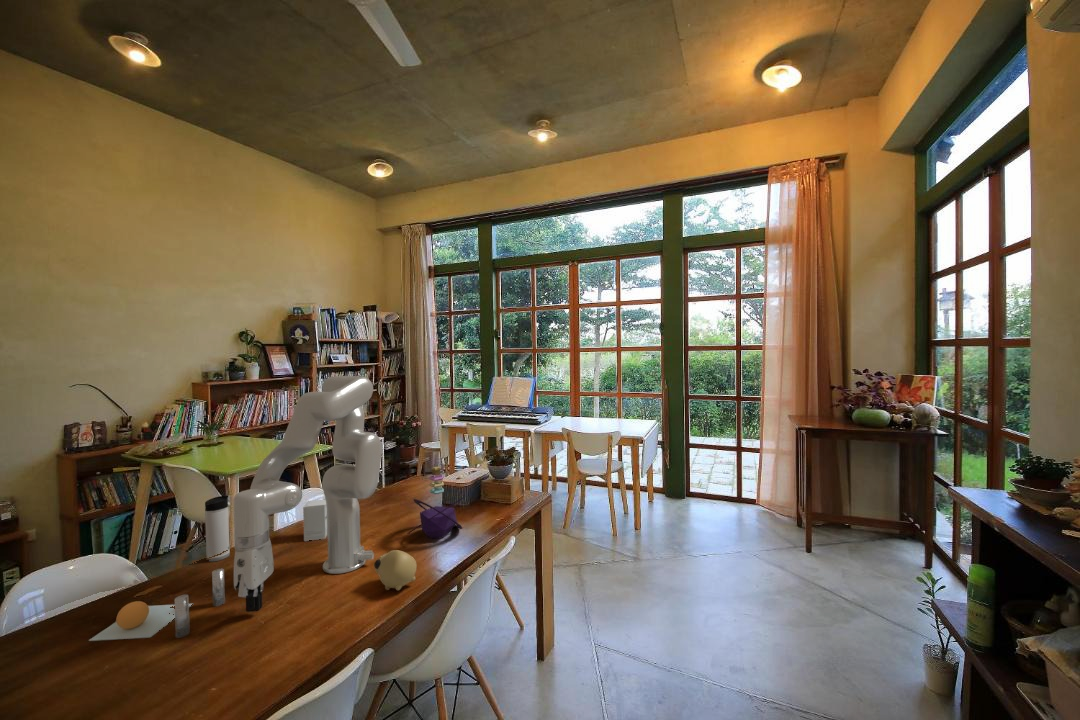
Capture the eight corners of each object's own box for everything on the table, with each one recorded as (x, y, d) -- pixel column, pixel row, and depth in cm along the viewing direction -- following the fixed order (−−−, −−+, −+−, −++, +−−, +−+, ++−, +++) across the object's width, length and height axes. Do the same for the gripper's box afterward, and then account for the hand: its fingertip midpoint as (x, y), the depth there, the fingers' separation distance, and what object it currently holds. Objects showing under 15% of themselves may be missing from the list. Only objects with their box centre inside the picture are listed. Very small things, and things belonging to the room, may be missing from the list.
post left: (192, 630, 107) (191, 594, 107) (184, 637, 105) (183, 600, 105) (181, 631, 107) (179, 594, 107) (172, 638, 105) (171, 600, 105)
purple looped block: (480, 533, 162) (478, 466, 162) (432, 554, 146) (430, 479, 146) (442, 519, 177) (441, 457, 176) (395, 537, 161) (393, 468, 160)
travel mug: (235, 554, 150) (233, 495, 149) (215, 563, 143) (213, 501, 143) (222, 551, 152) (220, 494, 151) (202, 560, 145) (200, 500, 145)
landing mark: (193, 604, 119) (193, 603, 119) (150, 637, 105) (150, 636, 105) (139, 607, 118) (138, 606, 118) (88, 641, 104) (88, 640, 104)
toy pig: (396, 573, 134) (395, 538, 134) (423, 584, 127) (422, 547, 127) (368, 588, 125) (367, 551, 125) (396, 600, 119) (394, 561, 119)
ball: (122, 607, 112) (137, 625, 112) (104, 620, 106) (120, 639, 106) (145, 591, 113) (160, 609, 113) (128, 603, 107) (143, 622, 107)
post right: (227, 600, 120) (226, 568, 120) (220, 606, 118) (219, 572, 118) (217, 601, 120) (216, 568, 120) (210, 606, 118) (209, 573, 118)
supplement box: (325, 539, 160) (324, 504, 160) (303, 541, 158) (302, 506, 158) (330, 531, 167) (329, 498, 167) (309, 533, 166) (308, 500, 165)
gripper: (249, 551, 106) (252, 626, 106) (282, 526, 121) (284, 593, 121) (217, 552, 105) (219, 628, 106) (254, 528, 120) (256, 594, 121)
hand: (254, 609), depth 113 cm, fingers closed
